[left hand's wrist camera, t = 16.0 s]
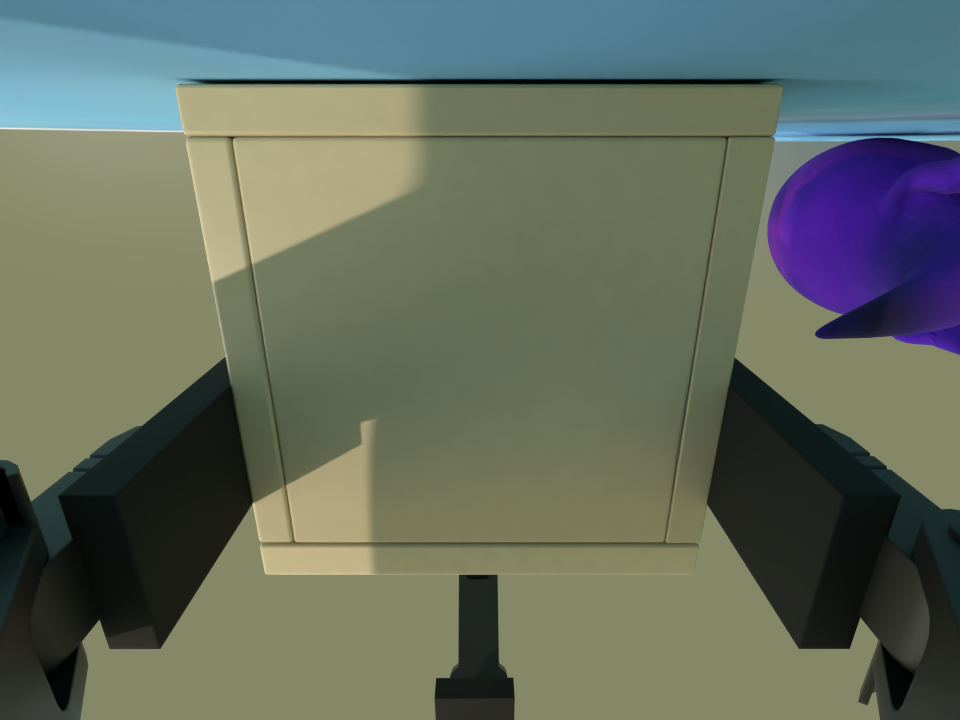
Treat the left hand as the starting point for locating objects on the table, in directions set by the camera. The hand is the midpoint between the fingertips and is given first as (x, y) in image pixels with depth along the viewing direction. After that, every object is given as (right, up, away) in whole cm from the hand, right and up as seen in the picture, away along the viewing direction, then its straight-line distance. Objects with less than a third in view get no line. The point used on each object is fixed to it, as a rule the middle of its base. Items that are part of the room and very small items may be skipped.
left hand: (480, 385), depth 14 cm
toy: (+33, +18, +28) cm, 47 cm away
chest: (0, +7, +1) cm, 7 cm away
